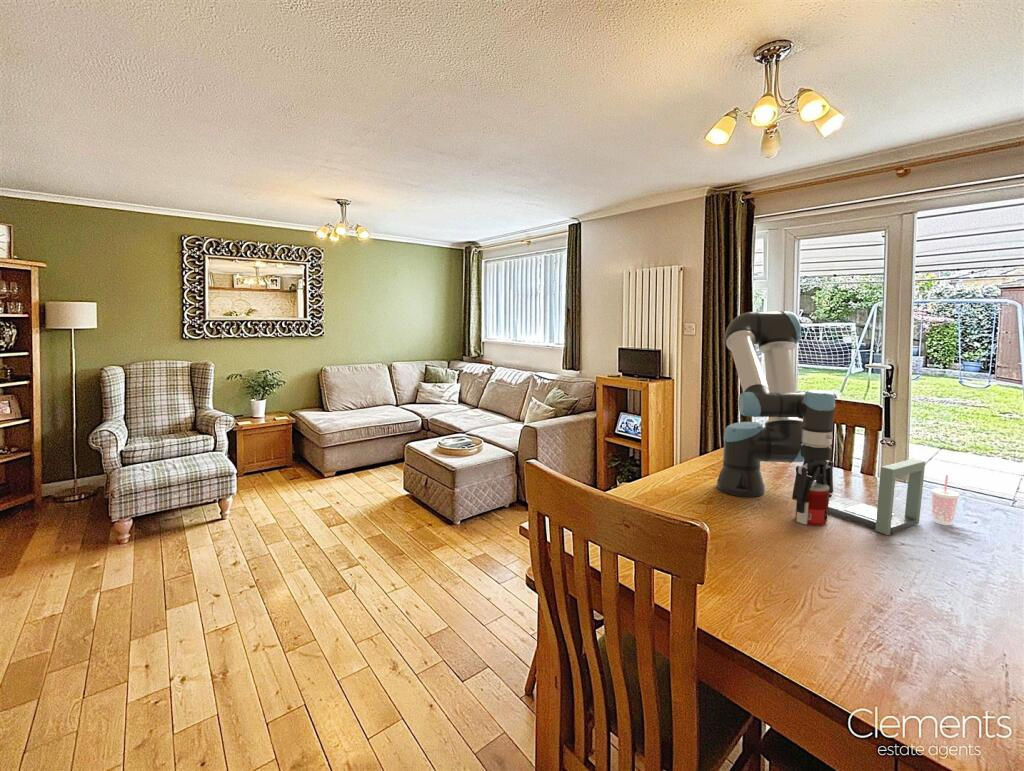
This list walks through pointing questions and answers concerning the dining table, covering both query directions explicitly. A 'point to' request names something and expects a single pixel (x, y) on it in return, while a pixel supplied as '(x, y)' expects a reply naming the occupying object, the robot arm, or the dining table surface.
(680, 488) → the dining table surface
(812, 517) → the canned food
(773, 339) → the robot arm
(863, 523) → the plate
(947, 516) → the beverage cup
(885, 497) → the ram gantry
